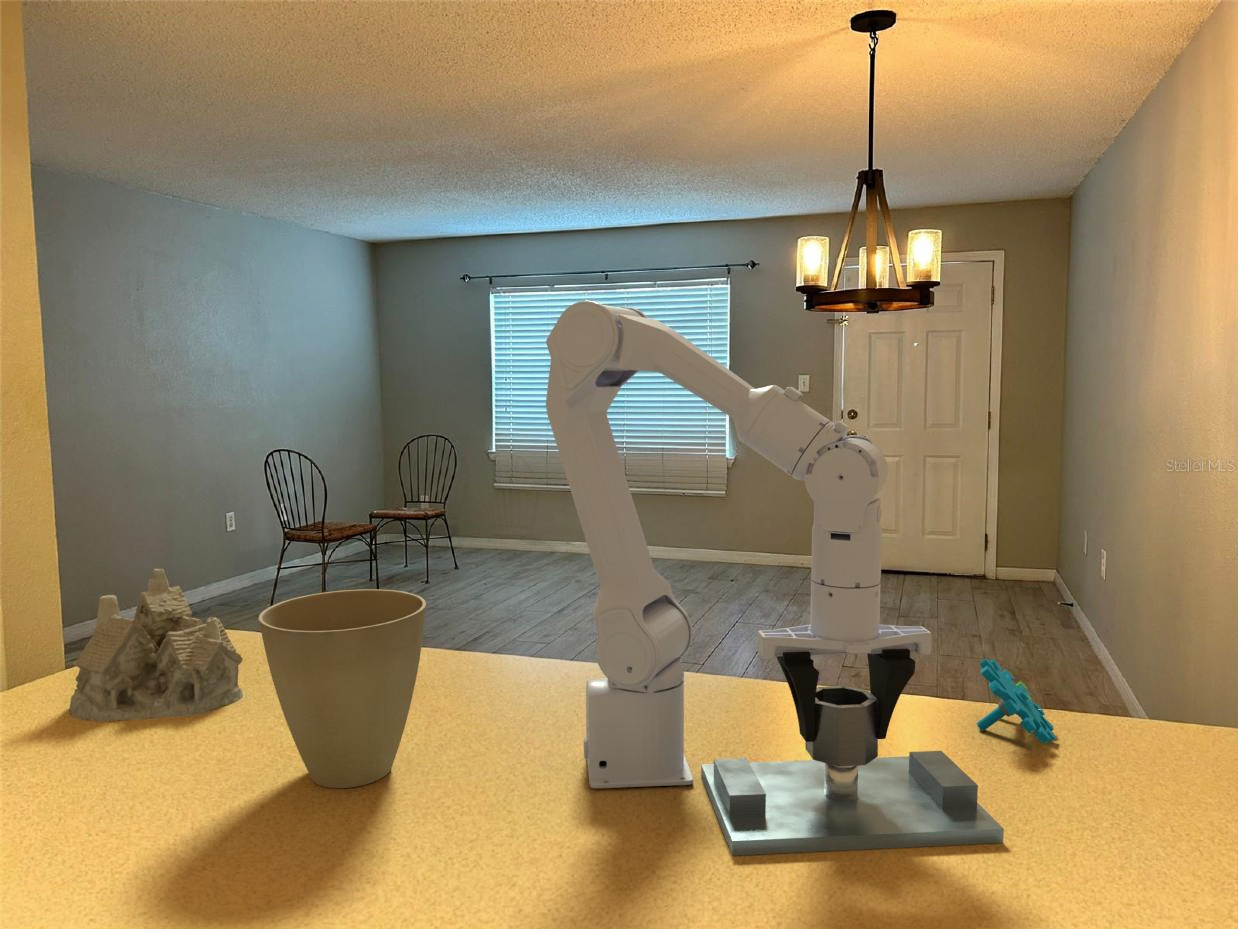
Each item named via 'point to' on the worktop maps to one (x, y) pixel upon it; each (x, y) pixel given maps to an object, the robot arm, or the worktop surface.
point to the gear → (1014, 703)
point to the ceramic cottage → (154, 661)
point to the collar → (844, 726)
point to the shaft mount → (846, 805)
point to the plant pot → (345, 677)
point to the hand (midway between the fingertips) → (842, 736)
